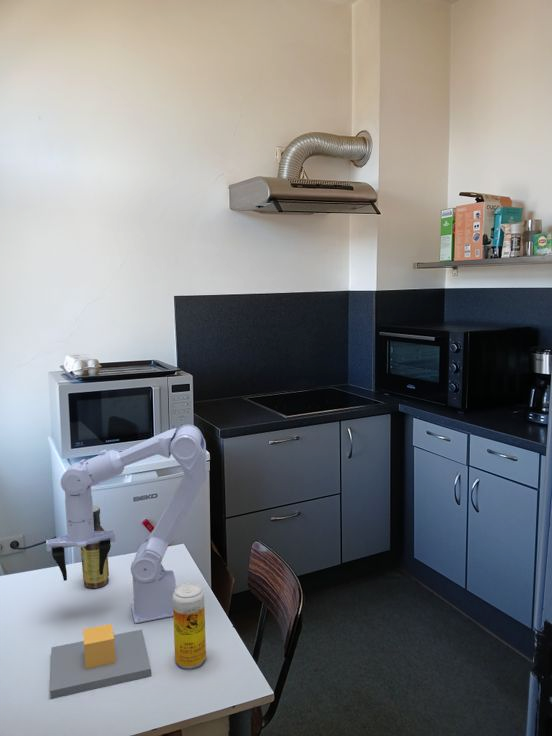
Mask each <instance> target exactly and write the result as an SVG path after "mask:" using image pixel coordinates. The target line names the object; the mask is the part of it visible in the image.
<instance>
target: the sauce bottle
mask: <svg viewBox="0 0 552 736" xmlns="http://www.w3.org/2000/svg"><path fill="white" fill-rule="evenodd" d="M100 516H101V508H100V507H99V506H98V505H93V519H94V531H105V529H104V528H103V527H102V525H101V517H100ZM80 555H81V569H82V580H83V583H84V587H86V588H89V589H98V588H102V587H104V586H105V585H107V584H108V583H109V575H110V570H109V558H108V557H109V554H108V555H107V557H106V560H105V564H104V568H103V574H102V575H100V572H99V544H98V543H94V544H87V545H86V546H83V547H80Z"/></svg>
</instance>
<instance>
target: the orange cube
mask: <svg viewBox="0 0 552 736" xmlns="http://www.w3.org/2000/svg"><path fill="white" fill-rule="evenodd" d="M113 630H114V629H113V624H112V623H109V624H103V625H97V626H93V627H88V628H83V629H82V634H83V636H82V637H83V641H84V652H85V667H86V669H88V668H93V667H97V666H102V665H107V664H111V663H115V647H114V635H115V634H114V631H113Z"/></svg>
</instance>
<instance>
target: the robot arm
mask: <svg viewBox="0 0 552 736" xmlns="http://www.w3.org/2000/svg"><path fill="white" fill-rule="evenodd" d="M156 455H158V456H159V455H160V456H162V457H164V458H167V459H170V458H171V456H172V457H173V458H174V460H175V461H176V462H177V463H178V465H180V467H181V470H182V472H183V474H184V475H183V477H182V478H181V480H180V482H179V484H178V485H177V488H176V489H175V491H174V493H173V494H172V496H171V498H170V499H169V502H168V503H167V505H166V507H165V509H164V510H163V512H162V514H161V515H160V518H159V519H158V521H157V523H156V525H155V526H154V528H153V530H152V531H150V533H149V535H148V537H147V538H146V539H144V540H142V541H141V542H140V544H138V547H137V549H136V553H135V557H134V559H133V561H132V562H131V565H130V573H131V576H132V589H133V593H132V594H133V603H131V604H130V608H131V613H132V618H133V621H134V623H135V624H139V623H144V622H149V621H155V620H160V619H164V618H170V617H173V594H174V592H175V589H176V587H177V586H176V585H177V584H176V578H175V572H174V571H173V570H171V569H170V570H167V569H165V567H164V565H163V564H162V561H163V559H164V557H165V554H166V551H167V550H168V548H169V545H170V543H171V542H172V540H173V538H174V536H175V534H176V532H177V531H178V530H179V528H180V526H181V524H182V522H183V520H184V519H185V517H186V515H187V513H188V511H189V510H190V508H191V507H192V504H193V503H194V501H195V499H196V497H197V496H198V494H199V492H200V491H201V489H202V487H203V485H204V484H205V482H206V480H207V477H208V472H209V471H208V470H209V469H208V459H207V445H206V439H205V437H204V435H203V433H202V432H201V430H200V429H199V428H198V427H197V426H195V425H194V424H183V425H181V426H180V427H178V428H177V427H175V428H171V429H169V430H166V431H164V432H162V433H158V434H157V435H155V436H152V437H151V438H148V439H145V440H144V441H142V442H140V443H137V444H135V445H133V446H131V447H129V448H127V449H124V450H123V451H117V450H114V449H111V450H110V449H109V450H107V449H103V450H101V451H99V454H98V455H97V456H96V455H95V456H94V457H91V458H88V459H87V460H86V459H85V458H83V459H81V460H80V461H79V462H76V463H73V464H71V466H70V467H68V468H67V470H66V471H65V472H64V473H63V474H62V475H61V478H60V487H61V489H62V490H63V492H64V505H65V519H66V520H65V521H66V522H65V523H66V535H62V536H59V537H55V538H51V539H46V540H45V541H46V542H45V546H46V547H45V548H46V552H48V553H49V552H51V554H52V555H51V556H52V558H53V560H54V561H55V563H56V564H57V566H58V567H59V569H60V572H61V574H62V579H63V581H64V582H66V581H67V580H68V572H67V571H68V570H67V567H66V566H67V564H66V554H65V548H66V549H67V548H72V547H76V548H81V547H83V546H86V545H87V544H94V543H98V544H99V572H100V575H102V574H103V568H104V564H105V560H106V557H107V555H108V556H109V553H110V551H111V547H112V546H111V543H115V542H116V532H115V530H113V529H112V530H104V531H94V519H93V506H94V505H93V495H92V486H97V485H98V484H100V483H103V482H105V481H108V480H110V479H113V478H115V477H117V476H120V475H122V474H123V472H124V470H125V467H127V466H129V465H132V464H135V463H137V462H140V461H143V460H146V459H149V458H152V457H154V456H156Z"/></svg>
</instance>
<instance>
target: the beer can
mask: <svg viewBox="0 0 552 736" xmlns="http://www.w3.org/2000/svg"><path fill="white" fill-rule="evenodd" d="M205 611H206V610H205V592H204V591H203V588H202V586H201V585H200V584H198V583H196V582H195V583H193V582H188V583H182V584H180V585H178V586H176V589H175V592H174V594H173V616H172V617H173V640H174V642H173V643H174V660H175V662H176V663H177V664H178V666H179V667H180V668H183V669H189V670H190V669H194V668H195V669H196V668H199V666H201V665H202V664H203V662H204V661H205V659H206V658H207V651H206V650H207V648H206V647H207V646H206V645H207V643H206V617H205V616H206V615H205V614H206V613H205Z"/></svg>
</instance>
